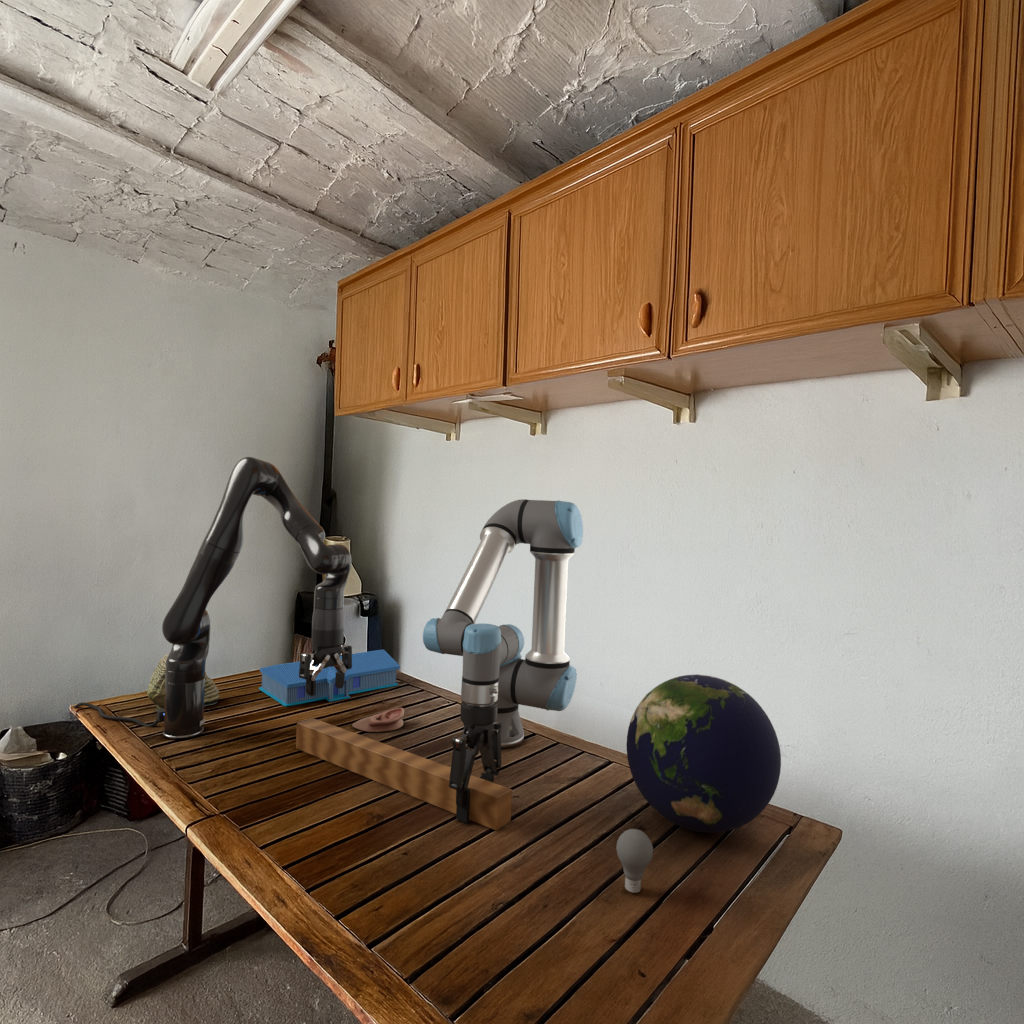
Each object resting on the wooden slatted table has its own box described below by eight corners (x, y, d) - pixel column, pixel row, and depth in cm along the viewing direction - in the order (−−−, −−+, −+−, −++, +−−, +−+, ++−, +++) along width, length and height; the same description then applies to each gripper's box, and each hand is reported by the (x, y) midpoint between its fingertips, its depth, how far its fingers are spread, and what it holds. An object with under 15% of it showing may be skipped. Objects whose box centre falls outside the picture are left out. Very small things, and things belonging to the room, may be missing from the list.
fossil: (144, 707, 182) (145, 655, 182) (212, 696, 194) (213, 647, 194) (151, 716, 175) (153, 662, 175) (221, 703, 188) (223, 653, 188)
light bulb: (610, 879, 108) (613, 822, 108) (644, 879, 109) (647, 822, 109) (619, 902, 102) (622, 840, 102) (655, 901, 103) (658, 840, 103)
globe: (608, 841, 121) (615, 684, 120) (638, 779, 148) (644, 652, 148) (777, 883, 110) (786, 711, 109) (776, 808, 137) (783, 670, 137)
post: (295, 748, 158) (296, 722, 158) (311, 742, 162) (312, 717, 162) (496, 830, 123) (498, 798, 123) (510, 821, 127) (512, 789, 127)
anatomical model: (347, 714, 172) (365, 702, 183) (346, 729, 172) (365, 715, 183) (393, 720, 169) (409, 707, 181) (392, 735, 169) (408, 720, 181)
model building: (289, 709, 186) (291, 675, 185) (258, 688, 204) (259, 657, 204) (403, 687, 212) (405, 657, 212) (366, 670, 230) (368, 643, 230)
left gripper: (313, 632, 148) (311, 701, 148) (360, 624, 159) (358, 688, 160) (293, 627, 152) (291, 694, 152) (340, 619, 164) (338, 682, 164)
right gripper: (462, 718, 119) (457, 839, 119) (521, 694, 135) (517, 800, 136) (432, 709, 123) (427, 826, 123) (493, 686, 139) (489, 790, 140)
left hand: (325, 691), depth 156 cm, fingers open, 8 cm apart
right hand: (474, 812), depth 129 cm, fingers open, 7 cm apart
